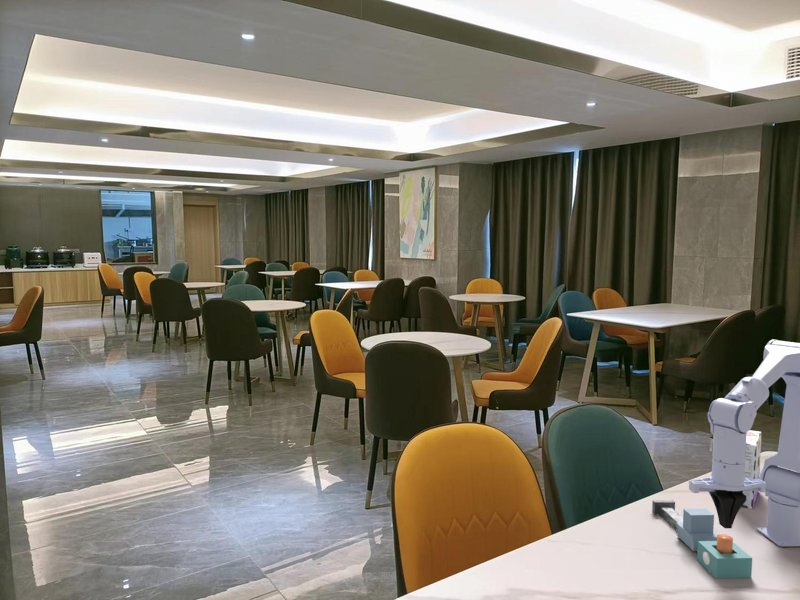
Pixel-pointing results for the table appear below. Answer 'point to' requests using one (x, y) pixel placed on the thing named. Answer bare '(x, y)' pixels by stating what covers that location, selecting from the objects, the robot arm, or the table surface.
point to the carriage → (696, 527)
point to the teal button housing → (724, 561)
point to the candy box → (752, 464)
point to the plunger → (724, 544)
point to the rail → (667, 511)
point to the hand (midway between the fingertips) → (725, 526)
